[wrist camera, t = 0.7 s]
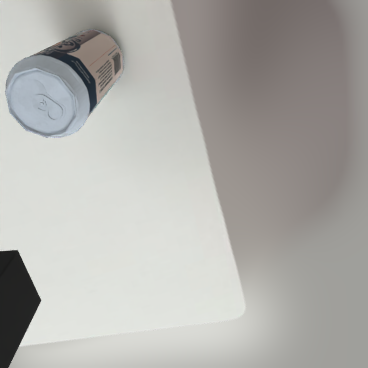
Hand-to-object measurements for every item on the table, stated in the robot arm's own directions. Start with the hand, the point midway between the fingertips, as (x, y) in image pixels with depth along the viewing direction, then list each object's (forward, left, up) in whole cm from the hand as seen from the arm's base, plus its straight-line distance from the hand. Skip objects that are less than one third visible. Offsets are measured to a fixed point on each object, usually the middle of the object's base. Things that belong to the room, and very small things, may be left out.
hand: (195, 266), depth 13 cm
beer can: (+6, -7, -21) cm, 23 cm away
